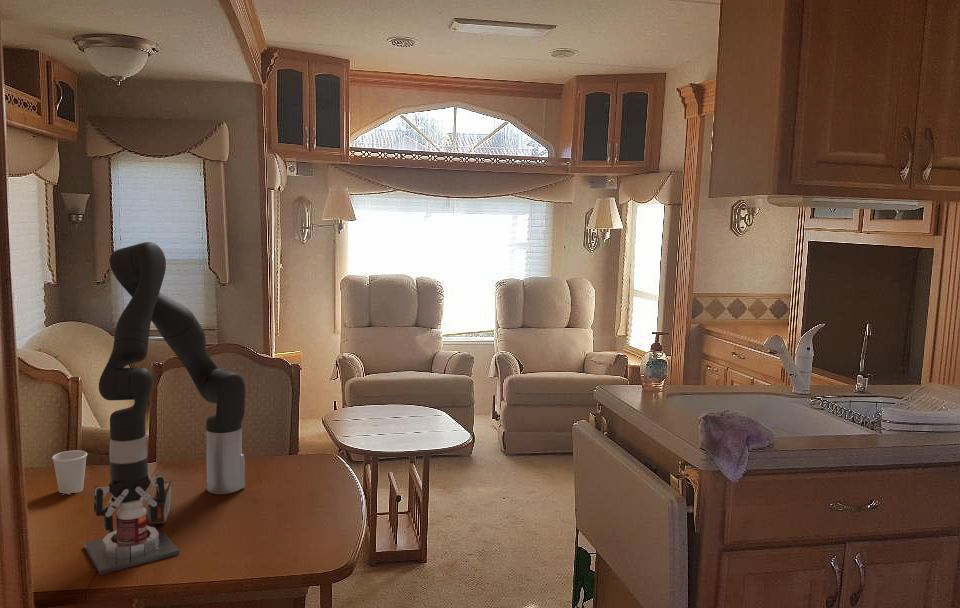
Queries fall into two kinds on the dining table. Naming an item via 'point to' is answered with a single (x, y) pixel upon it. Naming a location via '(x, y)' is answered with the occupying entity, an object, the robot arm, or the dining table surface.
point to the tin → (164, 504)
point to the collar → (129, 551)
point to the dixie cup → (70, 470)
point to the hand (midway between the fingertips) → (131, 526)
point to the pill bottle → (131, 522)
